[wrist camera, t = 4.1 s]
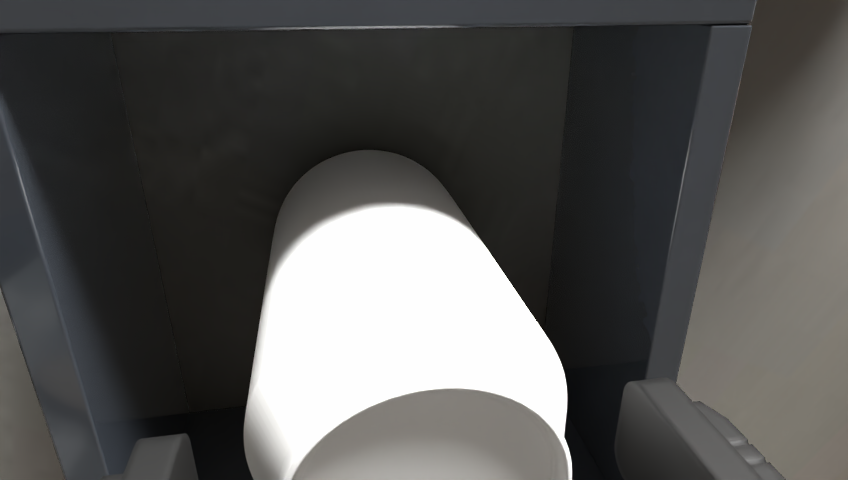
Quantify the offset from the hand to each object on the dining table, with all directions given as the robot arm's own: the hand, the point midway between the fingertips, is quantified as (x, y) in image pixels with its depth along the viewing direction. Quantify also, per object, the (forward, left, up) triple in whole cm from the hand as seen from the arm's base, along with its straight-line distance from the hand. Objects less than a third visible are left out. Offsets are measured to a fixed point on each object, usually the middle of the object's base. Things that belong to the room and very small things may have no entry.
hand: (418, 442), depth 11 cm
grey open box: (0, 0, -11) cm, 11 cm away
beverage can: (0, 0, -11) cm, 11 cm away
